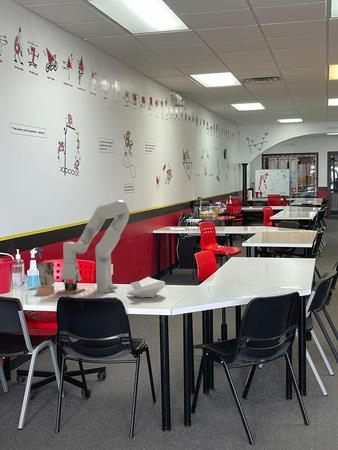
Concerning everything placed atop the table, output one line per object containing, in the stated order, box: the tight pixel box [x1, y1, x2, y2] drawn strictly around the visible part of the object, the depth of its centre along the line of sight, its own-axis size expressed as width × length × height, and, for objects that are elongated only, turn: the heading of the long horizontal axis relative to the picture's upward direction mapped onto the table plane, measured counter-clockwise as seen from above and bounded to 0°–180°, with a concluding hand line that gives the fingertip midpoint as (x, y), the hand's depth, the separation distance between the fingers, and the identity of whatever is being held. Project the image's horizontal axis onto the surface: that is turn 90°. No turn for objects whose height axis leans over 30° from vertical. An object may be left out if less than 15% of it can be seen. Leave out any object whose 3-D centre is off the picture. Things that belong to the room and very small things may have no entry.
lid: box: [56, 281, 86, 295], centre depth 367 cm, size 13×13×6 cm
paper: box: [126, 276, 166, 298], centre depth 346 cm, size 25×24×12 cm
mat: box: [54, 289, 88, 296], centre depth 367 cm, size 15×15×1 cm
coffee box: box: [36, 261, 55, 286], centre depth 394 cm, size 9×6×16 cm
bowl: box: [35, 285, 55, 297], centre depth 363 cm, size 10×10×5 cm
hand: (70, 289), depth 367 cm, fingers open, 5 cm apart
